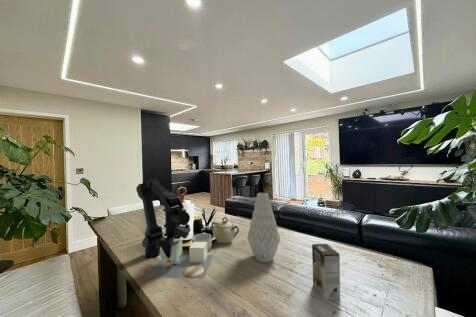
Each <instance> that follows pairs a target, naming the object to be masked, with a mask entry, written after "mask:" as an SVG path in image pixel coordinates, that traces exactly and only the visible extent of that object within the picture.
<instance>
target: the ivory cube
mask: <svg viewBox="0 0 476 317" xmlns="http://www.w3.org/2000/svg"><path fill="white" fill-rule="evenodd" d="M188 250H189V251H188V252H189V254H188V255H190V262H204V261H205V259H206V257H207V255H208V251H207V242H193V243H192V242H191V244H190V246H189V248H188Z"/></svg>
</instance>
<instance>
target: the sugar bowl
mask: <svg viewBox="0 0 476 317" xmlns="http://www.w3.org/2000/svg"><path fill="white" fill-rule="evenodd" d="M225 219H226V220H225ZM228 220H229V219H228V217H227V216H224V217H223V218H222V221H221V222H216V221H213V222H212V223H211V228H212V235H213V237H214V238H215V240H216V241H217V242H218V243H219V244H230V243H232V242H233V240H234V238H235V237H236V236H237V234H238V233H239V232H240V229H239V227H238V226H237V225H235V224H234V223H232V222H230V221H228Z"/></svg>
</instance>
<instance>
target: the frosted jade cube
mask: <svg viewBox="0 0 476 317" xmlns="http://www.w3.org/2000/svg"><path fill="white" fill-rule="evenodd" d="M173 243H174V245H173V246H172V247H171V255H170V258H167V256H166V254H165V253H164V251H163V250H162V248H161V247H160V252H161V253H160V255H161V259H160V260H177V259H178V258H179V256H180V255H183V238H180V239H174V242H173Z"/></svg>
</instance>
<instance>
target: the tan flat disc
mask: <svg viewBox="0 0 476 317" xmlns="http://www.w3.org/2000/svg"><path fill="white" fill-rule="evenodd" d="M203 272H204V268H203V267H201V266H190V267H188V268H186V269H185V270H184V271H183V274H184V276H186V277H197V276H199V275H201V274H202V273H203Z"/></svg>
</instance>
